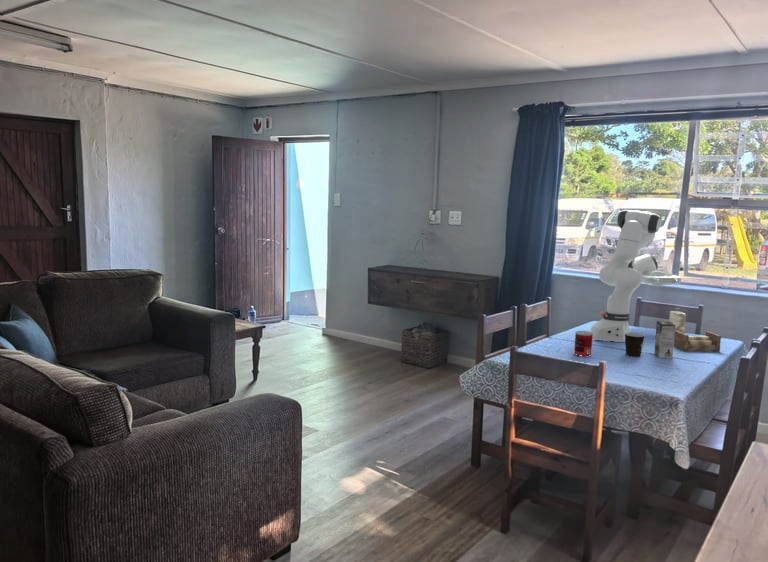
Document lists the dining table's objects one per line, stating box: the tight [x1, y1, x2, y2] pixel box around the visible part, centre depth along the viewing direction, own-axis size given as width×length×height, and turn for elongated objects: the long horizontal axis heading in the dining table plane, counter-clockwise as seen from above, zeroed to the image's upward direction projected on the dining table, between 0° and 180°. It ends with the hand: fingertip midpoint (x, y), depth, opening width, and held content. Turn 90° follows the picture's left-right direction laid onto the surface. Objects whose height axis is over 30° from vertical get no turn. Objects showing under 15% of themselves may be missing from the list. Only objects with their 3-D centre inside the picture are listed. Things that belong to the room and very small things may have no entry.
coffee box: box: [654, 320, 675, 359], centre depth 273 cm, size 9×6×16 cm
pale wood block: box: [668, 310, 687, 334], centre depth 308 cm, size 4×8×15 cm, turn 0°
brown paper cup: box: [624, 332, 645, 358], centre depth 274 cm, size 12×9×10 cm
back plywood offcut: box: [688, 335, 709, 340], centre depth 289 cm, size 11×2×6 cm, turn 90°
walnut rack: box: [674, 331, 722, 352], centre depth 288 cm, size 18×10×8 cm, turn 90°
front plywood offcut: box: [688, 340, 712, 345], centre depth 286 cm, size 11×2×5 cm, turn 90°
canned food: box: [573, 330, 593, 356], centre depth 272 cm, size 8×8×11 cm
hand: (668, 281), depth 318 cm, fingers open, 8 cm apart
